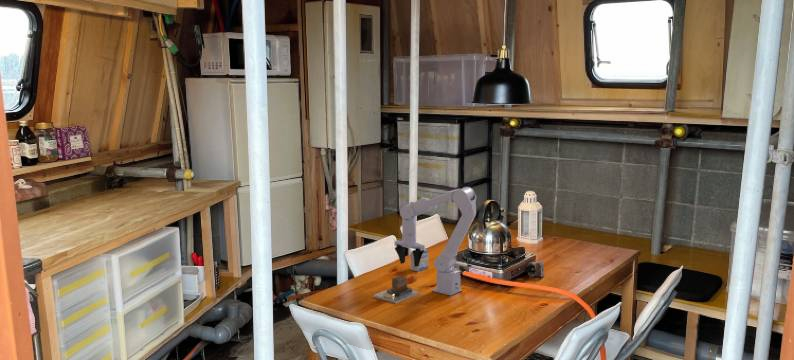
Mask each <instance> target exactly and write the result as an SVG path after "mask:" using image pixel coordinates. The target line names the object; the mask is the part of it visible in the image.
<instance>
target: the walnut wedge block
mask: <svg viewBox="0 0 794 360" xmlns="http://www.w3.org/2000/svg"><path fill="white" fill-rule="evenodd" d="M407 287H408V276H404V275H397V276H395V277H391V288H392V291H395V292H402V291H404V290H407Z"/></svg>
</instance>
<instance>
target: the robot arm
mask: <svg viewBox="0 0 794 360" xmlns="http://www.w3.org/2000/svg"><path fill="white" fill-rule="evenodd" d="M446 202H449V203H451V204H453V203H454V205H455V206H456V207H457V208H458V209H459V211H460V214H461V216H460V218H459V220H458V221H457V224H456V225H455V228H454V230H453V231H452V234H451V236H450V237H449V240H448V241H447V243H446V244H445V247H444V248H443V250H442V251H441V252H440V255H439V256H437V257H436V258H435V259H434V262H433V263H434V267H435V269H436V288H434V289H432V292H435V293H438V294H439V293H440V294H442V295H447V296H453V295H456V294H458V293H459V292H462V289H461V285H462V284H461V283H462V282H461V281H462V280H461V277H462V276H461V274H460V273H459V272H458V271H456V270H455V267H454V265H455V264H456V262H457V255H458V250H459V248H460V247H461V245H462V242H464V238H465V237H466V235H467V233H468V231H469V229H470V227H471V225H472V223H473V221H474V219H475V218H476V215H477V206H476V204H477V195H476V193H475V190H474V189H473V188H471V187H470V186H464V187H462V188H456V189H452V190H449V191H447V192H444V193H442V194H440V195H438V196H437V195H436V196H435V197H433V198H428V197H423V196H422V197H420V198H419V199H418V200H416V201H410V202H409V203H408V204H405V205H403V206H402V207H401V208H400V209H399V215H400V217H401V219H402V220H401V221H402V222H401V225H402V226H401V229H402V231H401V232H402V234H401V236H402V237H401V238H402V240H399V239H398V240H395V241H394V246H395V247H394V250H395V252H396V253H397V255H398V260H399V262H400V265H402V264H405V263H406V251H407V248H408V249H413V250H411V252H413V255H414V265H415V267H417V266H419V263H420V259H421V256H422V254H423V252H424V250H426V249H425V247H426V246H425V244H422V243H421V244H420V243H419V242H417V220H416V219H417V216H420V215H422V214H425V213H429V212H430V211H431V210H432V209H433V207H435V206H437V205H441V204H443V203H446Z"/></svg>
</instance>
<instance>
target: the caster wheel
mask: <svg viewBox="0 0 794 360" xmlns="http://www.w3.org/2000/svg"><path fill="white" fill-rule="evenodd" d="M544 265H545V264H544V260H541V261H531V262H530V261H528V262H527V264H526V266H527V267H525V270H524V272H523V273H527V275H528V276H529V277H545V276H546V275H545V266H544Z"/></svg>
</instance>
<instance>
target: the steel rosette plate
mask: <svg viewBox="0 0 794 360" xmlns="http://www.w3.org/2000/svg"><path fill="white" fill-rule="evenodd" d="M418 295H420V292H419V291H418V290H417V291H416V290H413V288H412V287H410V286H407V290H404V291H402V292H395V291H392V287H391V288H388V289H385V290H383V291H380V292H378V293H375V294H373V298H375V299H379V300H382V301H386V302H389V303H393V304H398V303H401V302H403V301H406V300H408V299H411V298H413V297H416V296H418Z"/></svg>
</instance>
